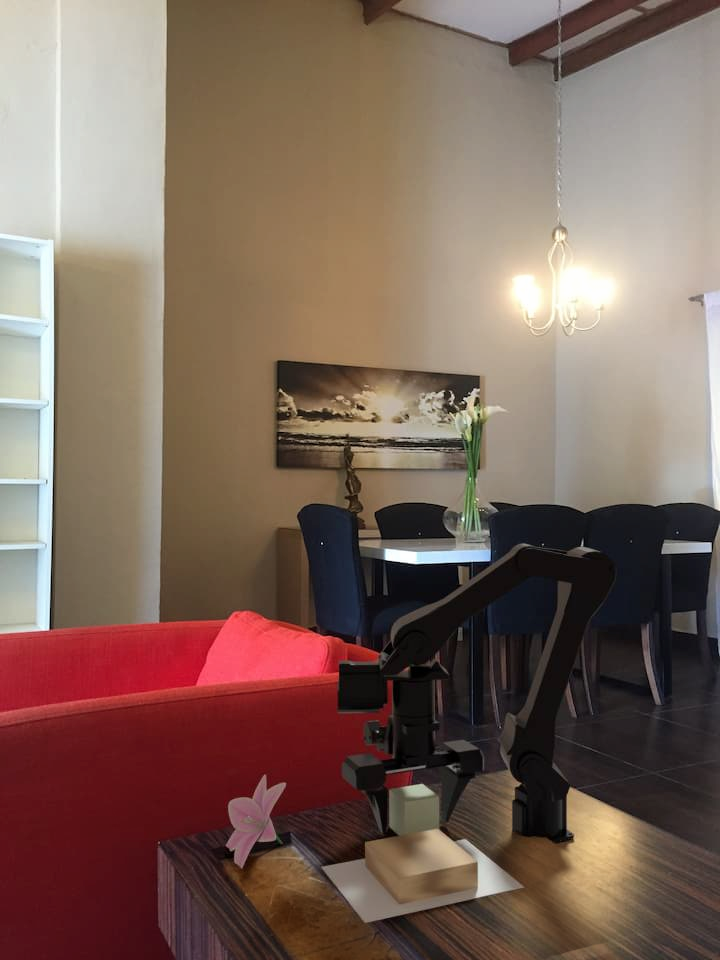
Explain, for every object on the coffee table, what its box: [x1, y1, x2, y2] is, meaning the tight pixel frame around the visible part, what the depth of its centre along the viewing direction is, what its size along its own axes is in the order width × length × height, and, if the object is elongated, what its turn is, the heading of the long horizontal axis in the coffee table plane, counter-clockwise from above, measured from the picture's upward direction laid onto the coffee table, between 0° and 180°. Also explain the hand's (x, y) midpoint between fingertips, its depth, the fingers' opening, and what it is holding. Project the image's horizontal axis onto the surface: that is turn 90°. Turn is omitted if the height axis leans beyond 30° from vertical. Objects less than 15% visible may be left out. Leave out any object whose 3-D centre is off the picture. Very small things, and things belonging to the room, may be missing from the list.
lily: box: [225, 774, 287, 876], centre depth 112 cm, size 12×12×10 cm
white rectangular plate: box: [320, 838, 525, 924], centre depth 104 cm, size 20×14×1 cm
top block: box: [388, 783, 440, 836], centre depth 117 cm, size 5×5×6 cm
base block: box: [364, 828, 478, 905], centre depth 104 cm, size 10×10×3 cm
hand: (414, 827), depth 117 cm, fingers open, 9 cm apart
